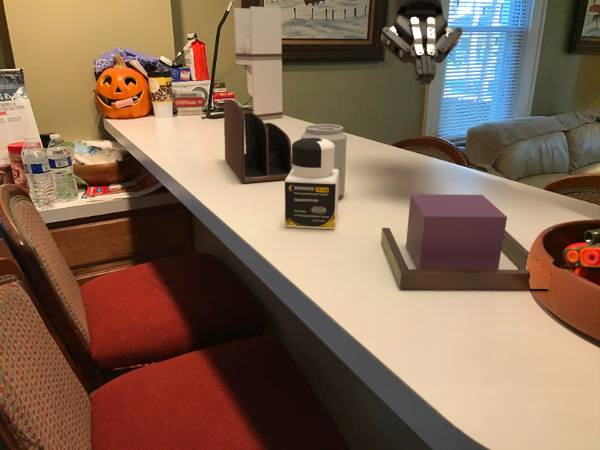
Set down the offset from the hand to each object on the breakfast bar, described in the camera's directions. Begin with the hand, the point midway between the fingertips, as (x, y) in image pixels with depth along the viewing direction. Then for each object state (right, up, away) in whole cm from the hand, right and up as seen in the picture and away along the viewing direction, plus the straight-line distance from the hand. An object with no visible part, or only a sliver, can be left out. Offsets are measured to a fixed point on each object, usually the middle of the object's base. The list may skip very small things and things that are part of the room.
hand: (426, 80), depth 70 cm
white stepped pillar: (-33, +16, +95) cm, 102 cm away
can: (-15, -17, +12) cm, 25 cm away
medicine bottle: (-17, -21, 0) cm, 27 cm away
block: (-1, -26, -12) cm, 28 cm away
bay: (0, -26, -13) cm, 29 cm away
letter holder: (-28, -10, +28) cm, 41 cm away
